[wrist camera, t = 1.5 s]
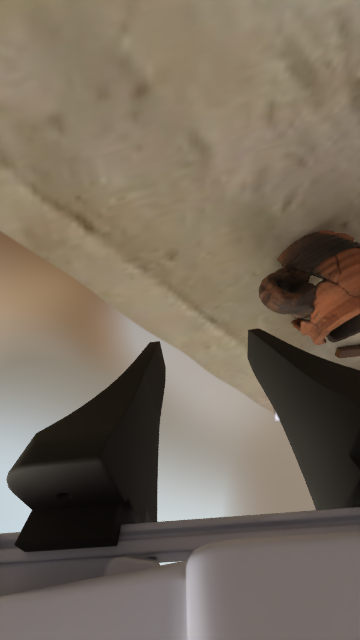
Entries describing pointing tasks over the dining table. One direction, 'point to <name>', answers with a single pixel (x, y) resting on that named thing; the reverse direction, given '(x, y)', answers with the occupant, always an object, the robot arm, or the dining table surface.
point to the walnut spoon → (348, 351)
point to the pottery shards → (318, 286)
